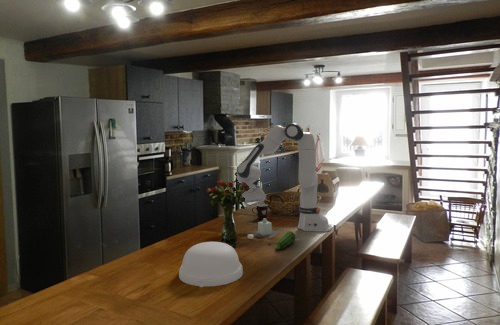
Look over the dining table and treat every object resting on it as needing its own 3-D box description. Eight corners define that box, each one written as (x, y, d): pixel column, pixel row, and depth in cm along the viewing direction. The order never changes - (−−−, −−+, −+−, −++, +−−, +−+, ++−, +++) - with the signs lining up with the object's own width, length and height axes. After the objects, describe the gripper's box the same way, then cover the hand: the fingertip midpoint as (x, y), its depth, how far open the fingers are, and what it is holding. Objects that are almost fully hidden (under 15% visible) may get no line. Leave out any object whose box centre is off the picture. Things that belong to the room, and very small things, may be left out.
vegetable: (294, 228, 231) (279, 237, 214) (299, 239, 230) (284, 249, 213) (284, 232, 235) (268, 241, 218) (289, 243, 234) (274, 253, 217)
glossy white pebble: (254, 238, 241) (254, 234, 241) (252, 240, 238) (252, 236, 237) (248, 237, 242) (248, 234, 242) (246, 239, 239) (246, 235, 239)
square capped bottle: (266, 231, 253) (266, 217, 252) (271, 233, 248) (271, 219, 247) (258, 233, 250) (257, 218, 250) (263, 235, 245) (262, 220, 244)
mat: (279, 232, 254) (279, 231, 254) (271, 238, 239) (271, 237, 239) (259, 230, 259) (259, 229, 259) (249, 236, 244) (249, 235, 244)
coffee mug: (268, 217, 296) (268, 204, 295) (267, 219, 287) (267, 206, 286) (253, 217, 297) (252, 204, 296) (252, 219, 288) (251, 206, 287)
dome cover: (192, 260, 203) (191, 234, 202) (248, 263, 198) (248, 236, 197) (168, 285, 172) (166, 254, 171) (234, 289, 167) (233, 257, 165)
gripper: (235, 188, 259) (242, 205, 252) (262, 185, 269) (270, 202, 261) (232, 194, 264) (239, 211, 256) (259, 191, 273) (266, 207, 265)
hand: (255, 206), depth 259 cm, fingers open, 8 cm apart
